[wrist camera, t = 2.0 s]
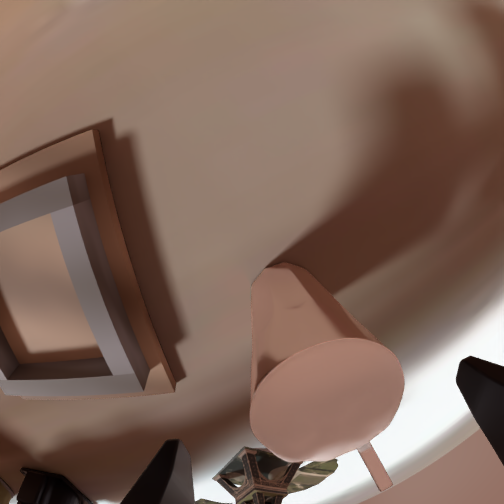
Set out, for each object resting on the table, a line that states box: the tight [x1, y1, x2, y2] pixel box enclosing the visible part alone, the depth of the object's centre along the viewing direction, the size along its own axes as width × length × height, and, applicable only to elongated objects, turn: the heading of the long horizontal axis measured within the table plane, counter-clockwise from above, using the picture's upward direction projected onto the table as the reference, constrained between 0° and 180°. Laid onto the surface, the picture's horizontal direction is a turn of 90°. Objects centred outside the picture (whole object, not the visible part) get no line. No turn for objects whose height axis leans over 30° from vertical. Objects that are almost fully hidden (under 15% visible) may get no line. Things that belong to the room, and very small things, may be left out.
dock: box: [0, 130, 176, 400], centre depth 13 cm, size 14×12×3 cm
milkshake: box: [249, 262, 404, 492], centre depth 11 cm, size 4×5×10 cm
